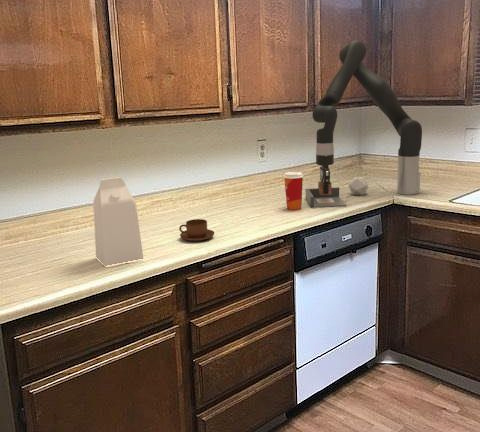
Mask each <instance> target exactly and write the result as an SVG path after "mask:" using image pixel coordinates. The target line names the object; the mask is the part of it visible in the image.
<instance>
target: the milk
mask: <svg viewBox="0 0 480 432" xmlns="http://www.w3.org/2000/svg"><path fill="white" fill-rule="evenodd" d="M92 203H93V204H92V205H93V223H94V239H95V240H94V244H95V258H96V257H97V258H98V259H99V260H100V261H101V262H102V263H103V264H104V265H105V266H107V265H112V264H117V263H123V262H128V261H133V260H138V259H144V254H143V245H142V239H141V232H140V225H139V217H138V210H137V204H136V201H135V199H134V196H133V195H132V193H131V191H130V190H129V187H127V185H126V183H125V181H124V179H123V178H122V177H121V176H117V177H110V178H102V179H101V180H100V182H99V187H98V189H97V192H96V194H95V196H94V198H93V202H92Z"/></svg>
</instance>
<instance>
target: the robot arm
mask: <svg viewBox="0 0 480 432" xmlns="http://www.w3.org/2000/svg"><path fill="white" fill-rule="evenodd" d="M366 56H367V46H366V45H365V43H364V42H363V41H362V40H357V39H355V40H353V41H350V42H348V43H347V44H346V45H344V46H342V48H341V49H340V50H339V53H338V58H339V60H340V62H341V64H342V65H341V67H340V68H339V69H338V71H337V73H336V74H335V75H334V77H333V78H332V79H331V82H330V84H329V85H328V88H327V89H326V91H325V94H324V95H323V96H322V98H320V100H319V101H318V102H317V103H316V105H315V106H314V108H313V110H312V115H311V116H312V119H313V121H315V122H316V123H320V124H321V123H323V124H324V126H323V127H322V128H319V129H317V130H316V146H315V164H316V165H317V166H320V167H319V180H320V181H323V193H324V194H328V193H329V184H330V182H331V169H330V167H329V166H332V165H334V163H335V162H334V160H335V159H334V158H335V157H334V156H335V155H334V154H335V148H334V146H335V145H334V131H335V128H336V124H337V122H338V121H337V119H338V111H337V109H336V107H335V106H337V105H338V104H340V102H341V100H342V98H343V96H344V94H345V91H346V89H347V88H348V85H349V83H350V82H351V79H352V77H354V78H355V79H356V80H357V82H358V83H359V84H360V85H361V86H362V88H363V89H364V91H366V93H367V94H368V96H369V97H370V98H371V100H372V101H373V102H374V104H375V105H376V106H377V107H378V109H380V111H381V112H383V114H384V115H385V116H386V117H387V118H388V119H389V121H390V123H391V124H392V126H393V127H394V129H395V131H396V133H397V134H398V136H399V137H400V139H399V140H400V141H399V148H398V150H397V151H398V152H397V176H396V177H397V183H396V185H397V186H396V187H397V188H396V193H397V194H399V195H407V196H408V195H409V196H410V195H411V196H412V195H417V194H418V195H420V190H421V172H420V153H421V149H422V143H423V142H422V140H423V127H422V125H421V123H420V122H419V121H417V120H415V119H413V118H412V117H410V116H409V115H408V113H407V112H406V111H405V110H404V109H403V107H402V105H401V104H400V101H399V99H398V97H397V95H396V93H395V91H394V90H393V89H392V87H391V85H389V83H388V82H387V80H386V79H384V78H383V77H382V76H380V75H378V74H376V73H375V72H374V71H371V70H370V69H369V68H368V67H367V66H366V65H365V63H363V61H364V59H365V57H366ZM325 181H327V182H325Z"/></svg>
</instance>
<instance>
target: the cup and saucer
mask: <svg viewBox="0 0 480 432" xmlns="http://www.w3.org/2000/svg"><path fill="white" fill-rule="evenodd" d="M183 227H185V228H186V230H183V229H182V228H183ZM178 230H179V232H180V233H179V236H180V238H182V239H183V240H185V241H189V242H200V241H206V240H208V239H209V240H210V239H211V238H212V237H213V236H214V235H215V231H214V230H212V229H208V220H206V219H202V218H201V219H200V218H197V219H190V220H186V222H185V224H181V225H179V228H178Z"/></svg>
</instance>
